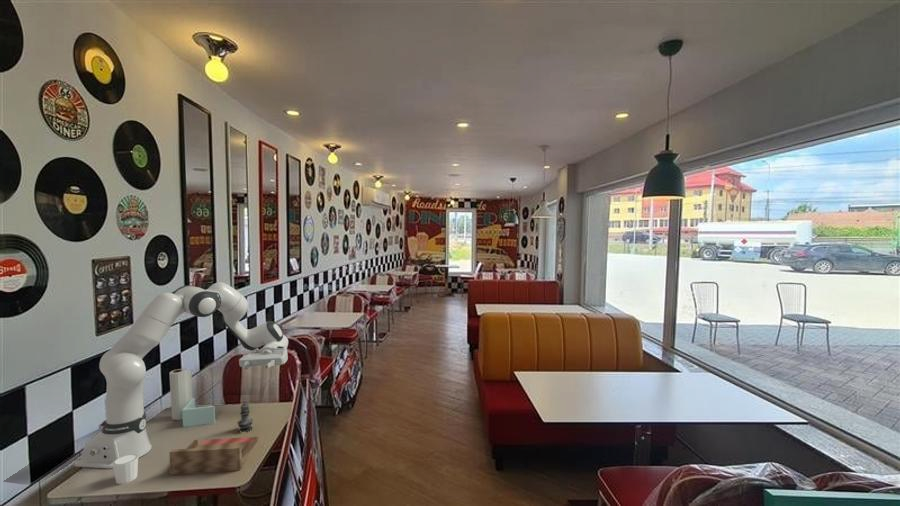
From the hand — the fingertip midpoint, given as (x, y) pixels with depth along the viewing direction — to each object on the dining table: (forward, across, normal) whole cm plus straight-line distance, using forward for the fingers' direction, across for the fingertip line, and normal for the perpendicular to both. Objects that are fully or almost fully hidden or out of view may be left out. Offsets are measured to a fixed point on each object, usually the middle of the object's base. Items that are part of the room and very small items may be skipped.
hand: (256, 367), depth 178 cm
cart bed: (+31, -2, +20) cm, 37 cm away
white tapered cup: (+44, -26, +18) cm, 55 cm away
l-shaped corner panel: (+2, -25, +22) cm, 33 cm away
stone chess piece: (+12, -2, +22) cm, 26 cm away
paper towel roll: (+1, -36, +22) cm, 42 cm away
